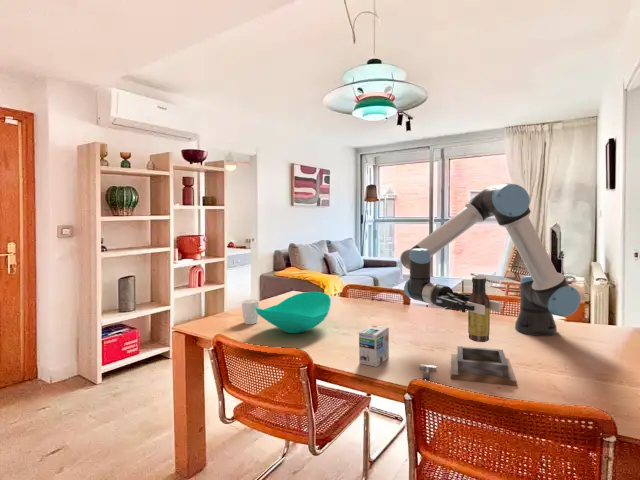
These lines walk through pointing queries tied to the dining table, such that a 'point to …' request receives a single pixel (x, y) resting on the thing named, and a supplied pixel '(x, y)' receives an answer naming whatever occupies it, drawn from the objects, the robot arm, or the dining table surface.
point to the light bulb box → (373, 345)
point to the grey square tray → (482, 366)
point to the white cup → (250, 311)
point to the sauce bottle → (479, 322)
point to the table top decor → (298, 312)
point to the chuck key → (427, 370)
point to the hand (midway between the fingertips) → (492, 308)
